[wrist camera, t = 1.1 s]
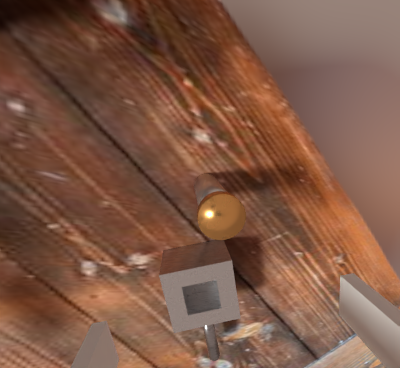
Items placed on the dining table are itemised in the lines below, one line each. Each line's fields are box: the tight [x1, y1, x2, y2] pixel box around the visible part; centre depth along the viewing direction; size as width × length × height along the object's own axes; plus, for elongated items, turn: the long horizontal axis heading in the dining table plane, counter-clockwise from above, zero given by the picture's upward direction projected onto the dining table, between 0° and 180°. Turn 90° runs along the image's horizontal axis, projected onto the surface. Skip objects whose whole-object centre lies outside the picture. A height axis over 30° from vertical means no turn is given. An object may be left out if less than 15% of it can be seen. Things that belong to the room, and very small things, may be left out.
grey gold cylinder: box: [194, 173, 246, 240], centre depth 26 cm, size 5×5×14 cm
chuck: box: [159, 240, 240, 361], centre depth 34 cm, size 21×11×6 cm, turn 10°
